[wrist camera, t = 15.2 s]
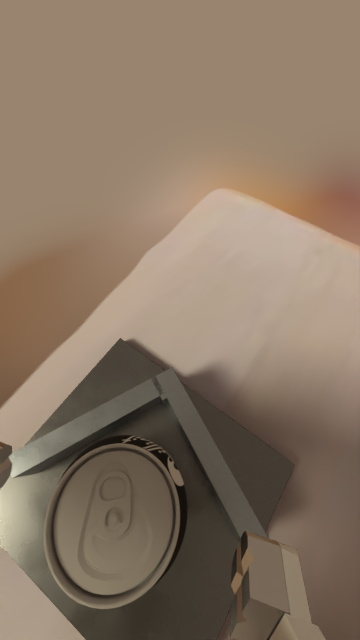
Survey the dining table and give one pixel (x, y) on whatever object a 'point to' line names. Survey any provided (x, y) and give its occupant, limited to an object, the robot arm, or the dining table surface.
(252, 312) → the dining table surface
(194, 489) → the v block
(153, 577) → the beverage can
